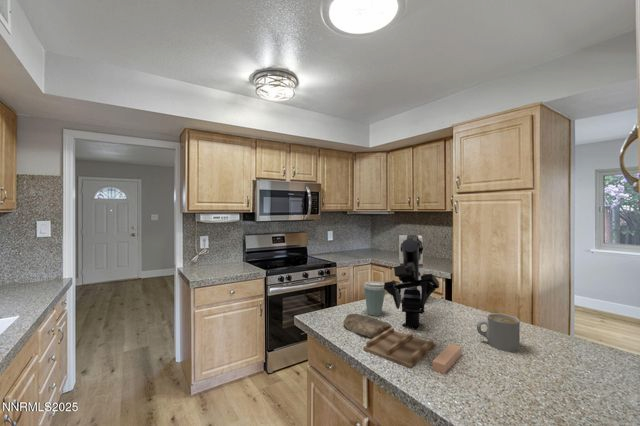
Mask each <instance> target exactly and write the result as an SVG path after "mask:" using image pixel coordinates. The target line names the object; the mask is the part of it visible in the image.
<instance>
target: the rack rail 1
mask: <svg viewBox="0 0 640 426" xmlns="http://www.w3.org/2000/svg"><path fill="white" fill-rule="evenodd" d="M394 331H395V327H393V326H392V327H391V328H390V329H388V330H386V331H385V332H383V333H381V334H380V335H378V336H376V337H372V338H371V339H369V340H368V341H366V343H365V344H366V345H365V346H366V347H368V348H369V347H371V346H372V345H374V344H375V343H377V342H379V341H380V340H382V339H384V338H385V337H387V336H388V335H390V334H392V333H393V332H394Z"/></svg>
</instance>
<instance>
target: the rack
mask: <svg viewBox="0 0 640 426" xmlns="http://www.w3.org/2000/svg"><path fill="white" fill-rule="evenodd" d="M407 335H408V334H405V333H403V332H400V331H396V330H394V332H393V333H392V334H390V335H388V336H387V337H385V338H384V339H382V340H380V341H379V342H377V343H375V344H374V345H372V346H371V347H369V348H368V347H366V345H365V346H363V351H365V352H367V353H370V354H372V355H375V356H378V357H380V358H383V359H384V360H385V359H386V360H388V361H391V362H393V363H396V364H398V365H401V366H403V367H406V368H409V369H412V368H413V367H414V366H416V365H417V363H419V362H420V361H421V360H423V358H425V356H427V355H428V354H430V352H431V351H433V350H434V349H435V348H436V347H437V343H435V342H434V344H433V345H432V346H431V347H430V348H429V349H427V350H426V351H425V352H424V353H423V354H422V355H420V356H419V357H418V358H417V359H416V360H414V361H413V362H412V363H408V357H409V356H410V355H412V354H413V353H414V352H415V351H417V350H418V349H419V348H420V347H422V346H423V345H424V344H425V343H427V342H428V341H429V340H427V339H426V340H425V339H424V338H423V339H422V338H419V337H416V336H413V338H412V339H410V340H409V341H408V342H406V343H405V344H404V345H402V346H401V347H399V348H398V349H397V350H395V351H394V352H392V353H391V354H390V355H387V354H386V349H388V348H389V347H390V346H392V345H393V344H395V343H396V342H398V341H399V340H401V339H402V338H404V337H405V336H407Z"/></svg>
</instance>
